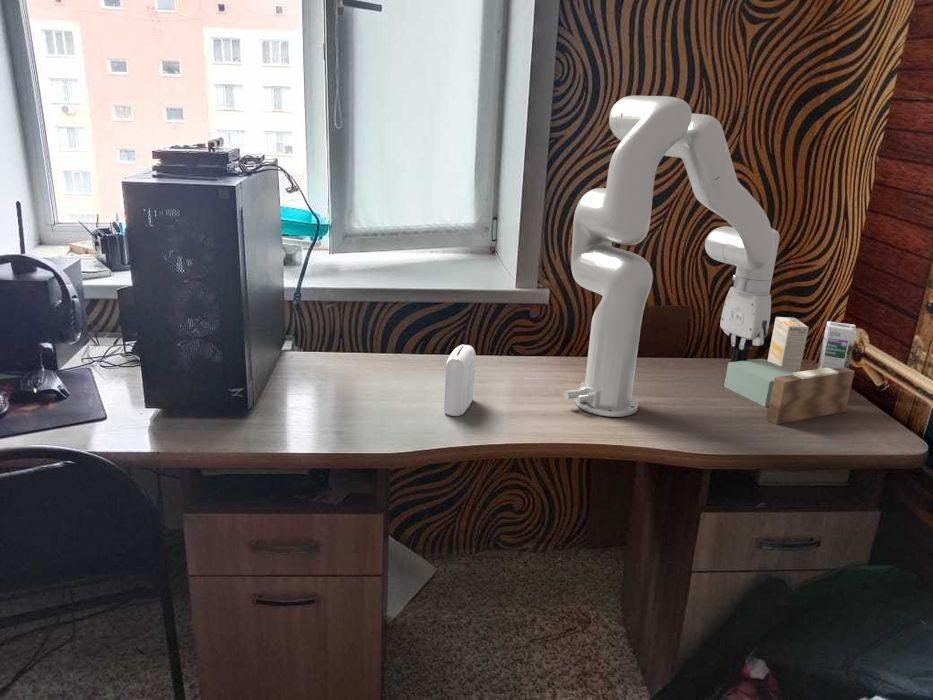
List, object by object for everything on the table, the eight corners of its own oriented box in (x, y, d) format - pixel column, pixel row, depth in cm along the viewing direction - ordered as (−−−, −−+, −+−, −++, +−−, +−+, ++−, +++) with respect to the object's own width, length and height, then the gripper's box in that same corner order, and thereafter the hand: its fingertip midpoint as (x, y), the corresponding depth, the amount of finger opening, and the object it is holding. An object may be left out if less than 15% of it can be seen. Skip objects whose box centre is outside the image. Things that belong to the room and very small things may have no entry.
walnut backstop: (776, 424, 147) (785, 380, 144) (766, 419, 149) (774, 375, 146) (845, 411, 155) (855, 369, 152) (834, 406, 157) (844, 365, 154)
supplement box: (798, 381, 172) (810, 327, 167) (778, 380, 172) (788, 325, 167) (785, 369, 179) (795, 317, 175) (765, 368, 179) (775, 315, 175)
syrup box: (815, 387, 168) (828, 326, 164) (814, 379, 174) (827, 319, 169) (843, 392, 166) (857, 330, 162) (841, 383, 172) (855, 323, 167)
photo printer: (454, 396, 152) (457, 338, 148) (475, 399, 151) (478, 341, 147) (440, 415, 142) (443, 354, 138) (462, 418, 141) (466, 357, 138)
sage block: (764, 408, 156) (769, 381, 154) (723, 387, 166) (728, 362, 164) (799, 402, 160) (804, 376, 158) (757, 383, 170) (762, 358, 168)
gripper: (714, 278, 166) (701, 355, 172) (766, 294, 154) (751, 377, 160) (738, 276, 170) (726, 352, 176) (792, 292, 157) (776, 373, 163)
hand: (738, 363), depth 168 cm, fingers closed
